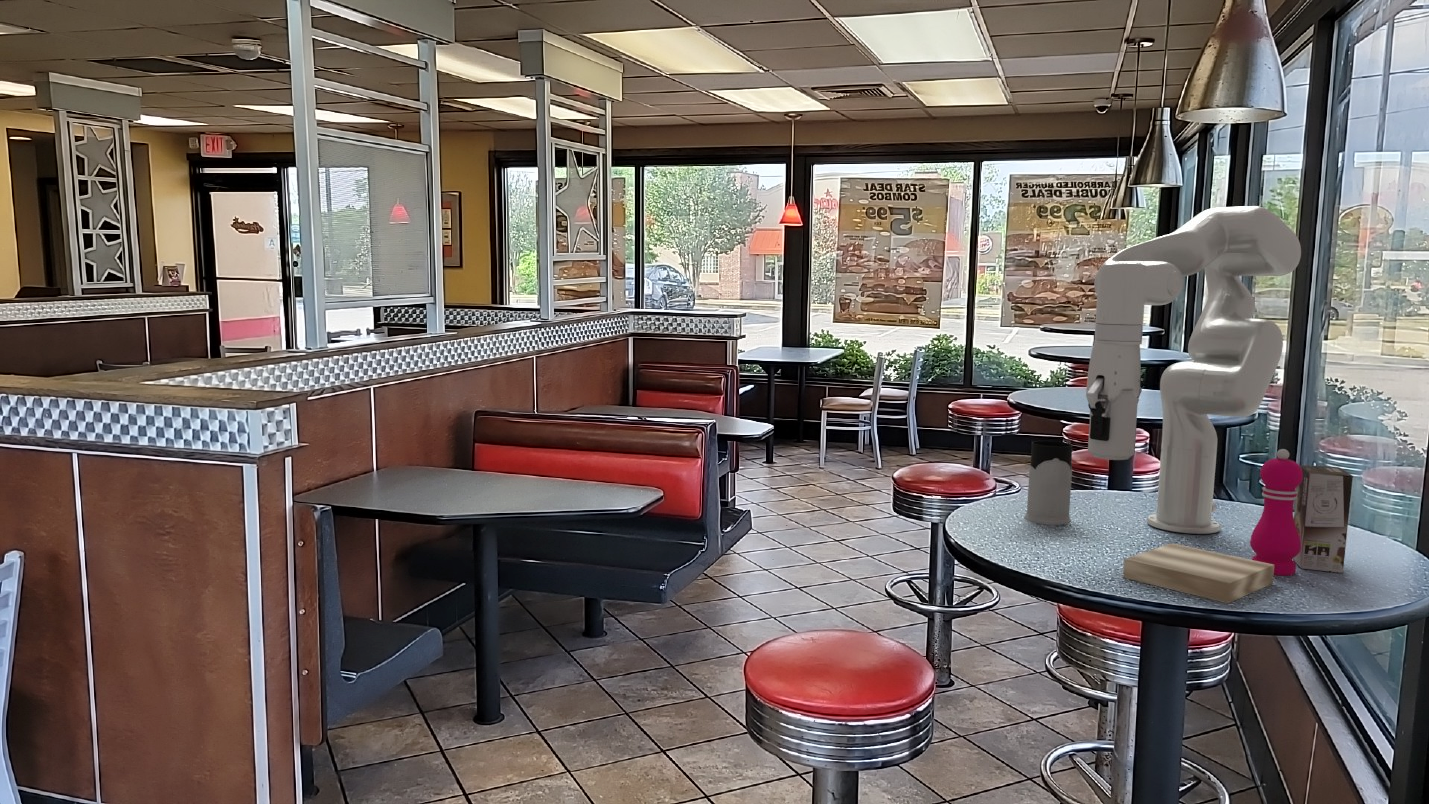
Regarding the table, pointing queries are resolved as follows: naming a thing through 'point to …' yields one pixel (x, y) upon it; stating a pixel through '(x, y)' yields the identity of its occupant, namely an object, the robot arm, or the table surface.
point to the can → (1118, 429)
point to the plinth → (1199, 572)
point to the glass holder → (1049, 483)
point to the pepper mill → (1278, 515)
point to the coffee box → (1322, 517)
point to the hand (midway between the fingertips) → (1111, 437)
